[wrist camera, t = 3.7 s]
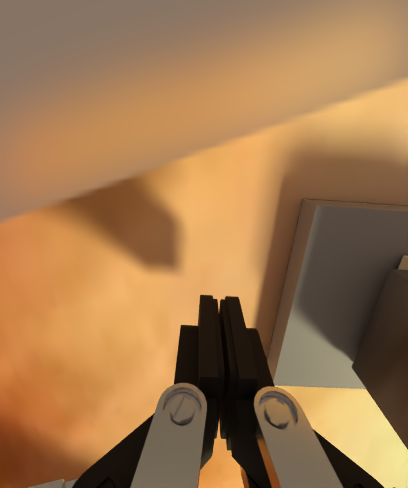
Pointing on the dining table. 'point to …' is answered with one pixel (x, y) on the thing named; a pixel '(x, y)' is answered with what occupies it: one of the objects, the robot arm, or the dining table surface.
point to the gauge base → (333, 289)
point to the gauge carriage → (388, 352)
